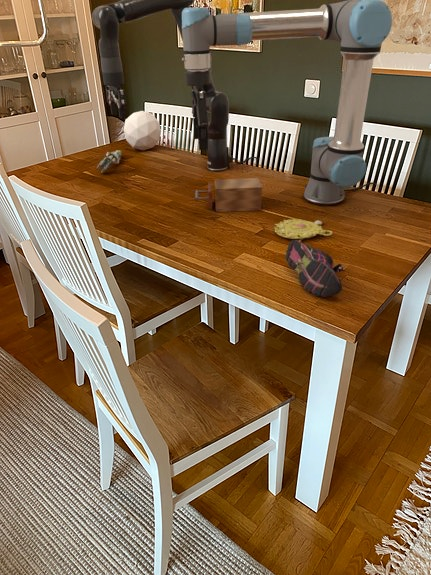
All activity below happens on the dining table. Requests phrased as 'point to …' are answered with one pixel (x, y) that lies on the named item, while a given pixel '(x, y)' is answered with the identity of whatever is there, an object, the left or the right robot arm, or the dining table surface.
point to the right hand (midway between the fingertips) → (200, 144)
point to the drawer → (205, 197)
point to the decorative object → (300, 229)
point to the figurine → (110, 160)
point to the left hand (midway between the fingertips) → (118, 116)
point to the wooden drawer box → (238, 194)
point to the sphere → (142, 130)
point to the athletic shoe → (314, 269)
